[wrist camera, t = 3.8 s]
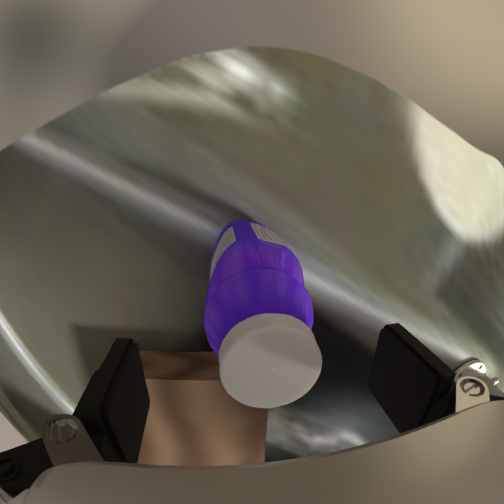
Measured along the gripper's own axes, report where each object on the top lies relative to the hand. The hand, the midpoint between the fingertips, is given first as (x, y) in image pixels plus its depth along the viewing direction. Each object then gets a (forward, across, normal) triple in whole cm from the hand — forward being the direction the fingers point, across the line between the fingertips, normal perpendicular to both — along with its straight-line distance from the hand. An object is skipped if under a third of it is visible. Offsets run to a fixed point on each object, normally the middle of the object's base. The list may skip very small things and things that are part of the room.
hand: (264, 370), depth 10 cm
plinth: (+18, +5, +18) cm, 26 cm away
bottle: (+18, -1, 0) cm, 18 cm away
